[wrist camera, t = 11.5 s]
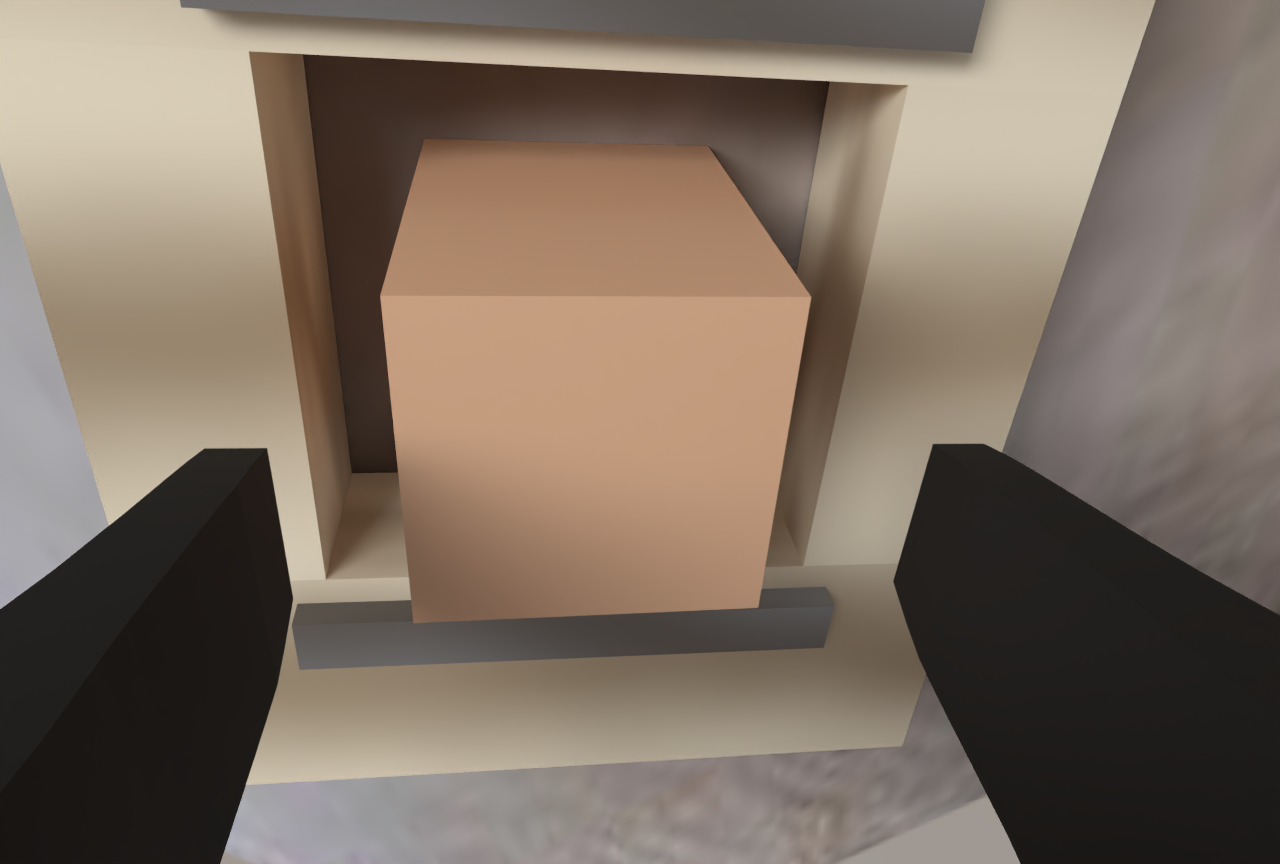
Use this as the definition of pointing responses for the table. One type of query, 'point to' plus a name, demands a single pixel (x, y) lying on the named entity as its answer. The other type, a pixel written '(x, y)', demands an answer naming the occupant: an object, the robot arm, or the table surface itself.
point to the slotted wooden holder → (371, 502)
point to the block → (586, 380)
